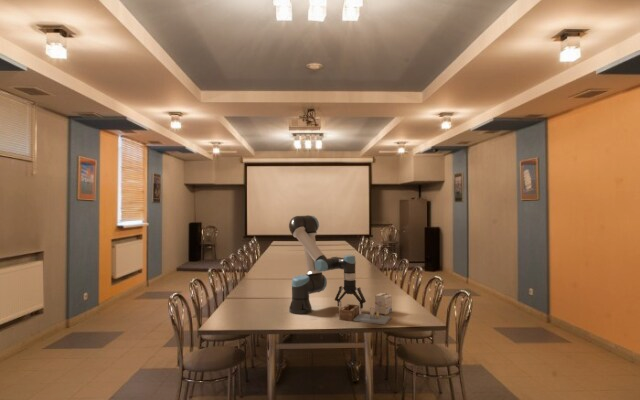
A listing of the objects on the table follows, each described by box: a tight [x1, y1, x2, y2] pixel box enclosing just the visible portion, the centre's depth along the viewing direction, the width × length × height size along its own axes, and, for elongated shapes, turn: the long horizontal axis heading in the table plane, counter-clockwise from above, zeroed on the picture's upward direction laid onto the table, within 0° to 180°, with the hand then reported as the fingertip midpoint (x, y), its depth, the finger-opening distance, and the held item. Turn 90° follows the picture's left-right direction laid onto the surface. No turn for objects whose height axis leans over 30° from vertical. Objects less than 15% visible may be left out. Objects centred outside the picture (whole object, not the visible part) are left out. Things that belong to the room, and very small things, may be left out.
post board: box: [353, 307, 391, 325], centre depth 266 cm, size 20×14×7 cm
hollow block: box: [338, 303, 359, 322], centre depth 272 cm, size 16×8×6 cm, turn 157°
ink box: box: [374, 291, 393, 315], centre depth 284 cm, size 9×8×13 cm
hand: (350, 312), depth 272 cm, fingers open, 13 cm apart
